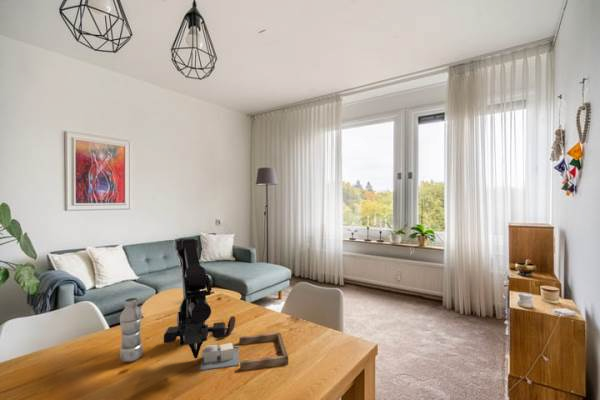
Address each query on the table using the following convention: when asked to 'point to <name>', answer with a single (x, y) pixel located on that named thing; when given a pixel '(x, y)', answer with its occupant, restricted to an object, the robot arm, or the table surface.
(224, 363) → the rubber tray
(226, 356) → the white square block
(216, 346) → the cream matte cube
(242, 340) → the walnut corral
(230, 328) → the compass
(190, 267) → the robot arm
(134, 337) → the plastic bottle
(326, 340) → the table surface
